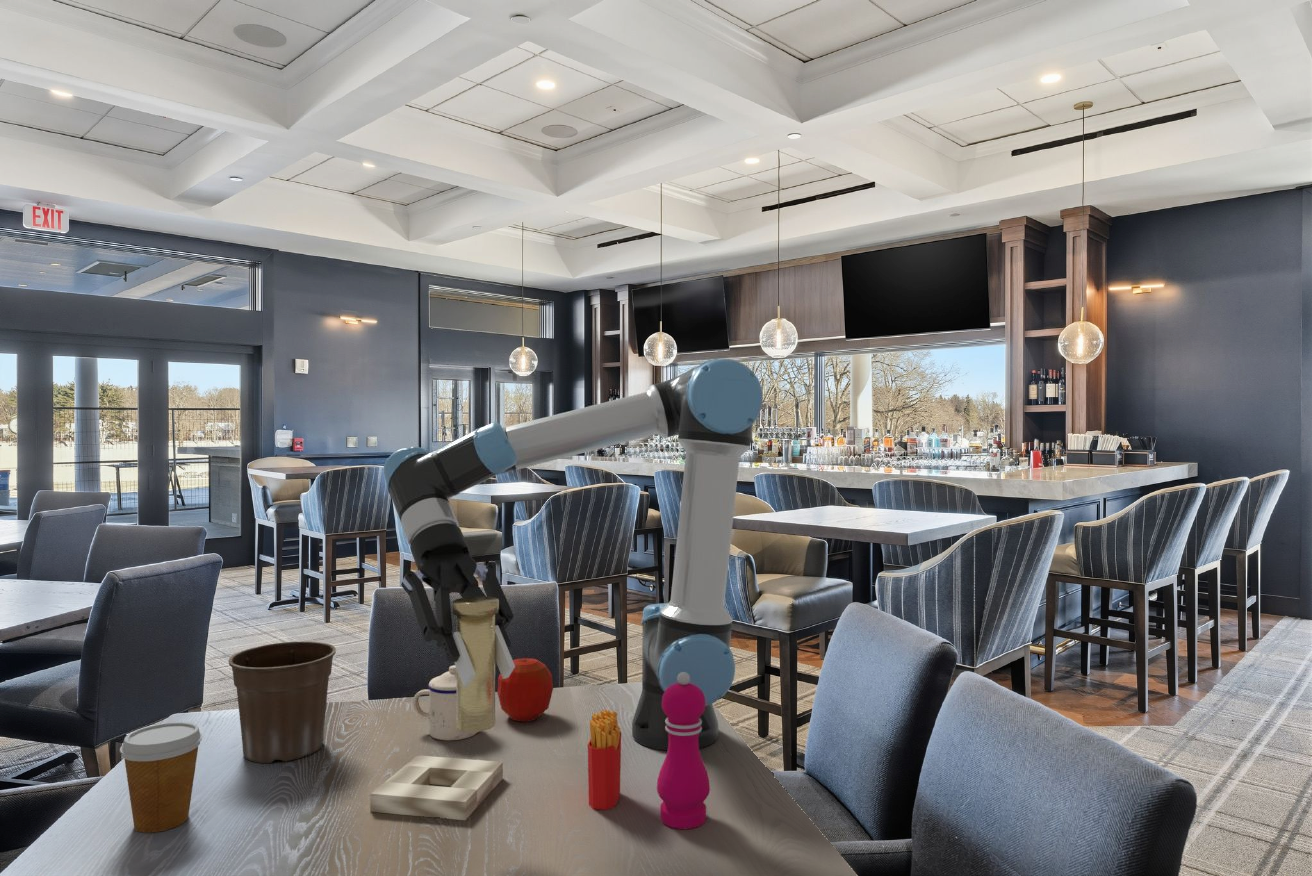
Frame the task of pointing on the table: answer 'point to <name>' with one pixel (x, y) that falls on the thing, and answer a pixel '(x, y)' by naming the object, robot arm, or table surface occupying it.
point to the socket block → (437, 787)
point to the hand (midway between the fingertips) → (489, 676)
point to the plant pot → (282, 698)
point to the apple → (526, 690)
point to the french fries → (604, 760)
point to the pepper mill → (683, 757)
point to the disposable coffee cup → (161, 773)
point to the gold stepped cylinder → (477, 662)
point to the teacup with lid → (442, 707)
